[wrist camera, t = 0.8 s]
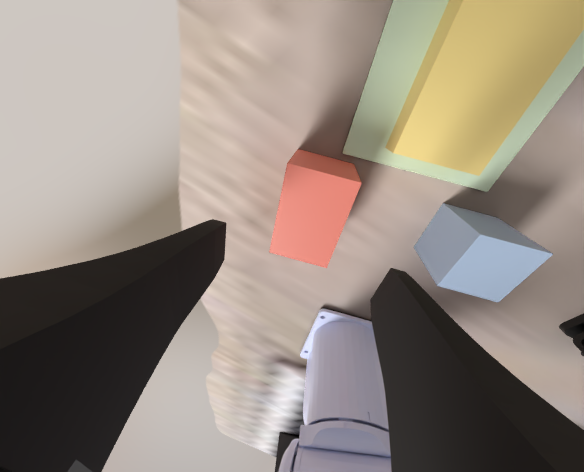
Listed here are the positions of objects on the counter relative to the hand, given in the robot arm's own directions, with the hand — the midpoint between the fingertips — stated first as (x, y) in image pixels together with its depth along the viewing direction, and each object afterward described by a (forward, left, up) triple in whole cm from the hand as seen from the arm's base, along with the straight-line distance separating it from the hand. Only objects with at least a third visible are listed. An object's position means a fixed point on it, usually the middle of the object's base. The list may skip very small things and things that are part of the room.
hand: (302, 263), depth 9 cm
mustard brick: (+8, -6, -8) cm, 13 cm away
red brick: (0, 0, -8) cm, 8 cm away
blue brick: (0, -11, -8) cm, 14 cm away
